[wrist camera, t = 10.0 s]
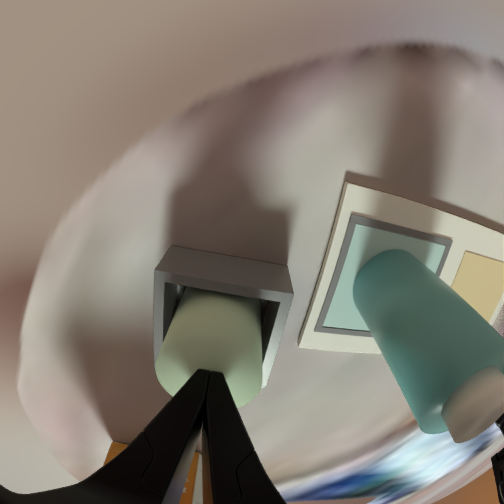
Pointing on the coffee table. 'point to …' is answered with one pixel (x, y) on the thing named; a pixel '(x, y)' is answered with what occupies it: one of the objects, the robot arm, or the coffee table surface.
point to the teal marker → (433, 345)
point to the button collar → (223, 291)
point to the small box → (193, 486)
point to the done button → (214, 342)
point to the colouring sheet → (405, 238)
